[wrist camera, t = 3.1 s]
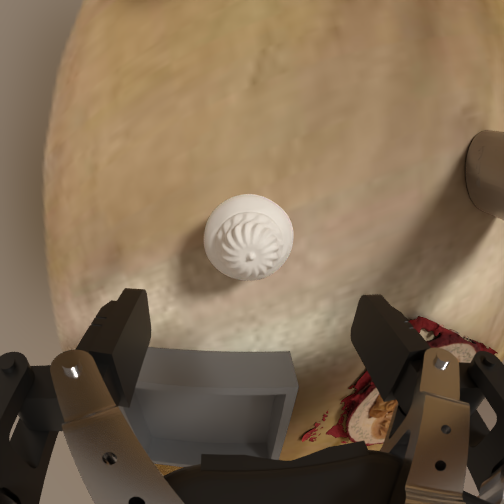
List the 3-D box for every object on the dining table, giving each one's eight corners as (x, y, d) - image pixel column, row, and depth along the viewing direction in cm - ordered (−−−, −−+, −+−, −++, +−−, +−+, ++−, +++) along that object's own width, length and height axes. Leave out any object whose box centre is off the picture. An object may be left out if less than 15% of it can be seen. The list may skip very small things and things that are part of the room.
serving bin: (289, 351, 28) (298, 386, 23) (272, 440, 34) (275, 468, 30) (117, 343, 27) (102, 375, 22) (147, 434, 33) (142, 461, 28)
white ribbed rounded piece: (226, 271, 24) (224, 318, 18) (195, 205, 22) (178, 232, 16) (295, 243, 24) (317, 282, 17) (268, 174, 21) (283, 188, 15)
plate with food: (407, 305, 28) (422, 323, 25) (493, 347, 33) (504, 359, 30) (296, 432, 36) (300, 451, 33) (406, 439, 41) (412, 452, 37)
